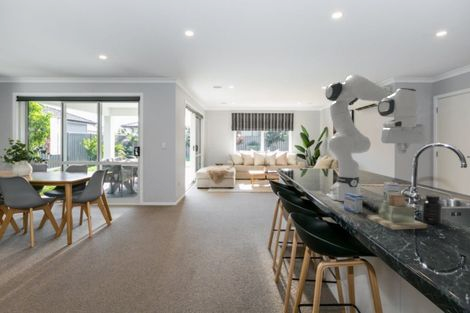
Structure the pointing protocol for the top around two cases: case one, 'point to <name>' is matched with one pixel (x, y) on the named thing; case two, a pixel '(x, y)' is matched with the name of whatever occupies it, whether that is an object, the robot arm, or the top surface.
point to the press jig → (396, 217)
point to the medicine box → (353, 202)
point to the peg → (396, 200)
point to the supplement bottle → (432, 210)
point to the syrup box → (390, 190)
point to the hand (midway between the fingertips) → (402, 153)
